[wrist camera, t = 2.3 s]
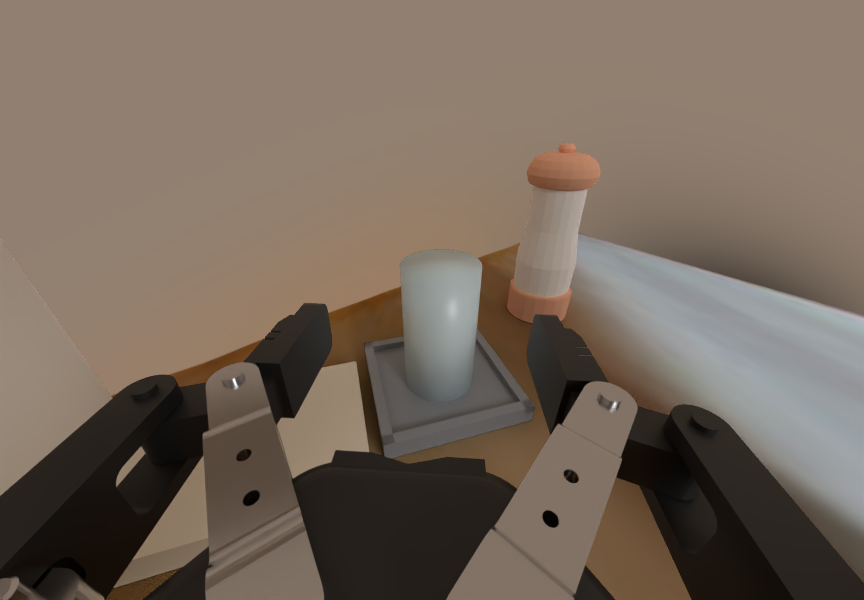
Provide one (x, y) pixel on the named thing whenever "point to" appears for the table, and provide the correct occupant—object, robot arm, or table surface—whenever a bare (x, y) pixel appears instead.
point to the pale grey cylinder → (440, 321)
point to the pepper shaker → (551, 233)
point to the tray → (441, 421)
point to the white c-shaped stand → (85, 394)
